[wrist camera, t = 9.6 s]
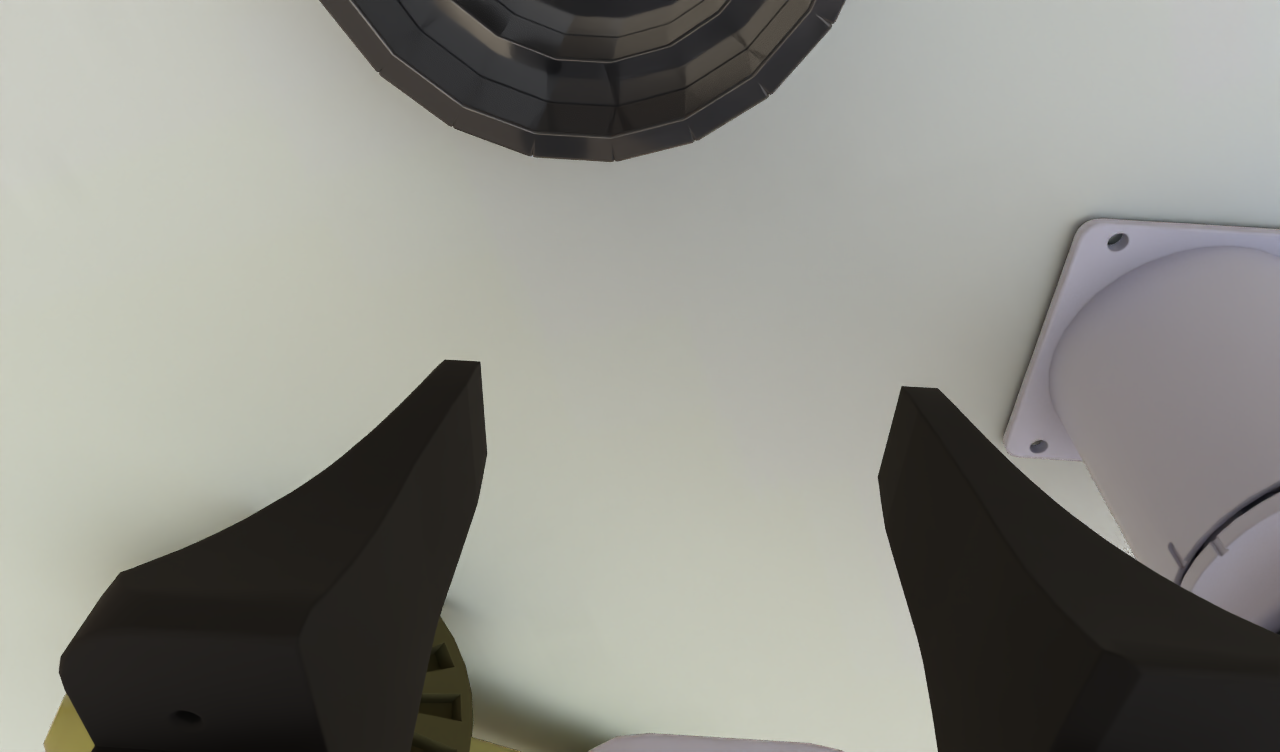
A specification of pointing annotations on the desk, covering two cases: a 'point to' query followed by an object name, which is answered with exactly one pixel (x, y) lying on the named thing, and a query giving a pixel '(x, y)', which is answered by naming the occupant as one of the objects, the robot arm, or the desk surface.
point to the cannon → (440, 724)
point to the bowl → (586, 65)
